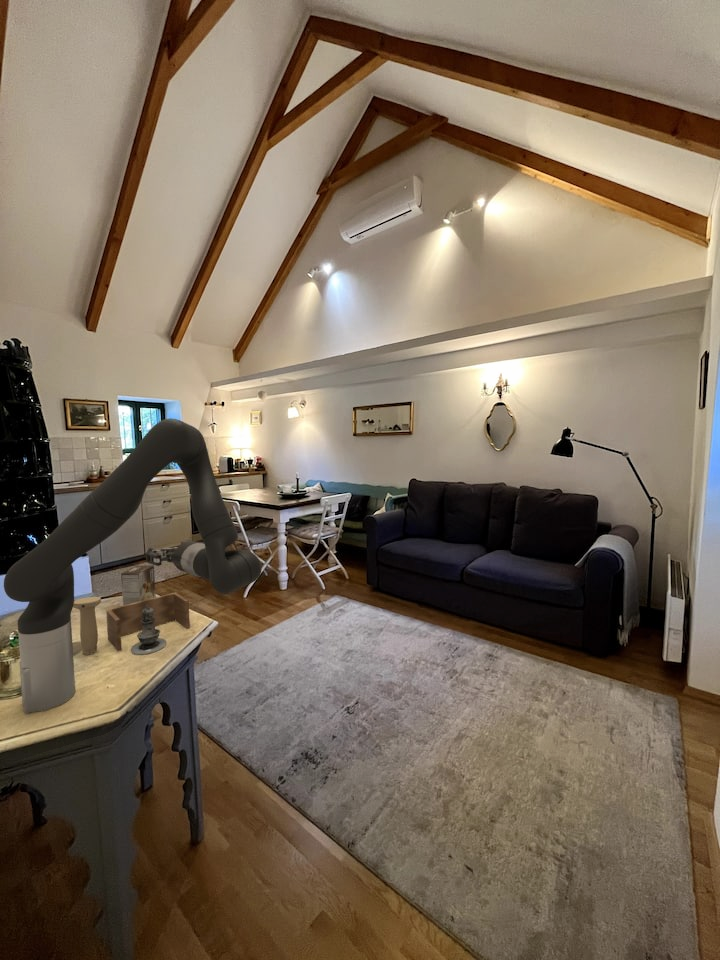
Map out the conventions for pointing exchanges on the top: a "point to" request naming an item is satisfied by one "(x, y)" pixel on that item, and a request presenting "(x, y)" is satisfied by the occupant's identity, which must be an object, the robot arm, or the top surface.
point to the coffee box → (138, 584)
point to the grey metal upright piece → (148, 630)
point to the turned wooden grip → (88, 623)
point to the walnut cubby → (131, 616)
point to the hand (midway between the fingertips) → (166, 548)
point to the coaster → (137, 651)
